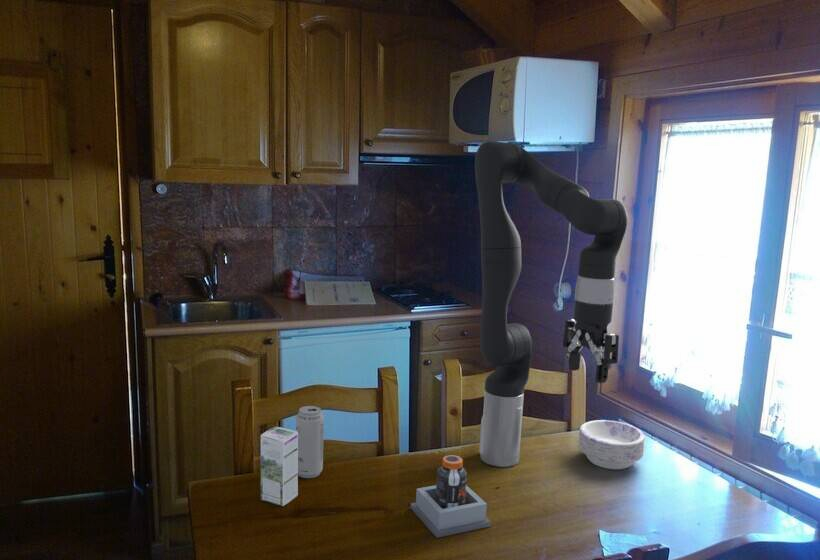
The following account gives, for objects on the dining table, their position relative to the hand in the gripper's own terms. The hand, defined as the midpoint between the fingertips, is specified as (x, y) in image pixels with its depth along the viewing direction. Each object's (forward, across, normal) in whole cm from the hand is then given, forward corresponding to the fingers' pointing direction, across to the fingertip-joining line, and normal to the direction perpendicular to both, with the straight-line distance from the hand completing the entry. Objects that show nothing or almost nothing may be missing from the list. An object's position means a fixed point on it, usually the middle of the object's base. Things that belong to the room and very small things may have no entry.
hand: (586, 375), depth 142 cm
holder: (+28, +4, +28) cm, 40 cm away
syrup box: (+28, +23, +58) cm, 69 cm away
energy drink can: (+28, +32, +49) cm, 65 cm away
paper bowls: (+28, +14, -21) cm, 38 cm away
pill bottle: (+27, +4, +28) cm, 39 cm away
